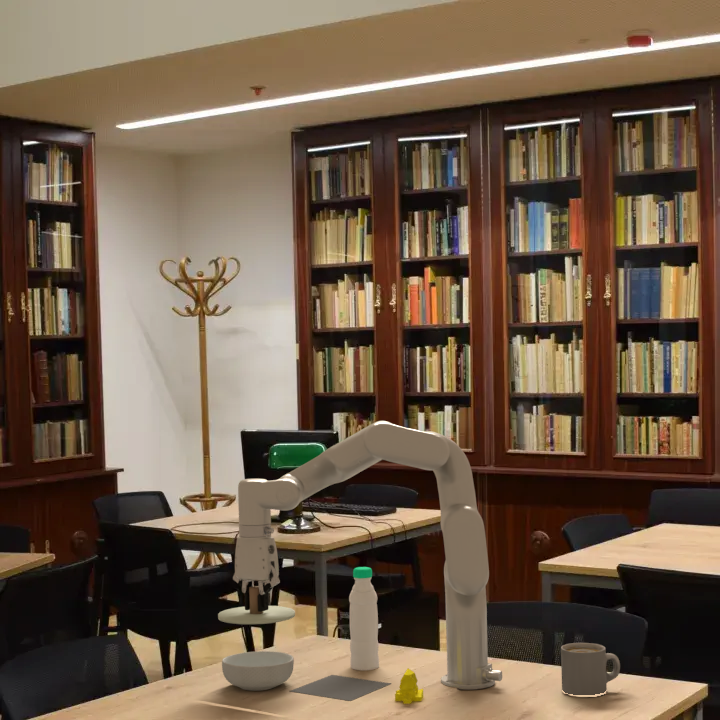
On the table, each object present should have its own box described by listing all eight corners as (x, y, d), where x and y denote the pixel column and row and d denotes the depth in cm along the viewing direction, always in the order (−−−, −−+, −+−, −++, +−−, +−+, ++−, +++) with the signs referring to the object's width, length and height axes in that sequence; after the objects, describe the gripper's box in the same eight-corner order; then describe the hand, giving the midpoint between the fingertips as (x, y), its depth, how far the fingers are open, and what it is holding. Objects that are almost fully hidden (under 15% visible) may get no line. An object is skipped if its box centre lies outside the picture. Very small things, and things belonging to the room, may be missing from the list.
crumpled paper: (424, 697, 266) (423, 662, 266) (420, 707, 258) (419, 671, 258) (398, 696, 267) (397, 662, 267) (393, 706, 259) (392, 671, 259)
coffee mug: (565, 698, 261) (564, 653, 262) (559, 686, 271) (557, 643, 272) (626, 697, 261) (625, 652, 261) (617, 685, 271) (616, 642, 271)
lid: (310, 613, 279) (309, 584, 279) (262, 627, 264) (262, 596, 264) (251, 606, 289) (250, 578, 289) (202, 619, 274) (201, 590, 274)
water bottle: (376, 672, 288) (373, 570, 288) (347, 672, 289) (345, 570, 290) (381, 665, 295) (379, 565, 295) (353, 665, 296) (351, 565, 297)
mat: (391, 686, 275) (391, 683, 275) (350, 703, 261) (350, 700, 261) (332, 677, 285) (332, 674, 285) (289, 693, 271) (289, 691, 271)
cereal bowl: (309, 686, 277) (308, 656, 277) (256, 702, 265) (255, 670, 265) (260, 675, 288) (259, 646, 289) (207, 689, 276) (207, 659, 276)
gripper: (292, 531, 276) (294, 610, 275) (238, 527, 285) (239, 604, 285) (272, 535, 269) (274, 616, 269) (217, 531, 279) (219, 609, 278)
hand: (256, 609), depth 277 cm, fingers closed on lid, 3 cm apart
